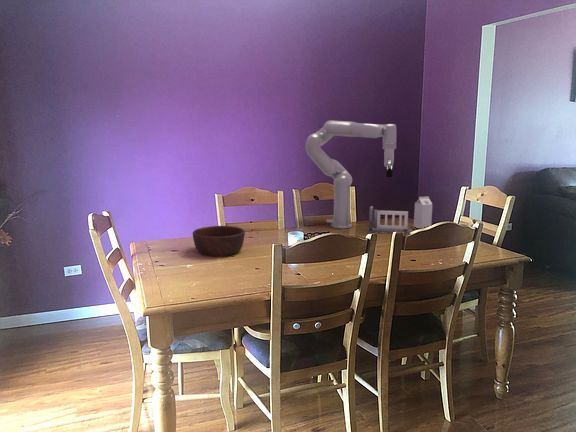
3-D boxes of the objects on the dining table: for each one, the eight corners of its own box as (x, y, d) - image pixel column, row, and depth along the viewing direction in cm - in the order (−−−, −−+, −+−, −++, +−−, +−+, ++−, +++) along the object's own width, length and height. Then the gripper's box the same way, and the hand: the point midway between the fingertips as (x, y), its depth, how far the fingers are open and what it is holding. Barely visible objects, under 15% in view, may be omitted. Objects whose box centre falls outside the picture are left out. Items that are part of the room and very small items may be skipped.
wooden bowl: (236, 260, 231) (235, 238, 229) (185, 257, 236) (184, 235, 234) (251, 246, 255) (250, 226, 253) (204, 244, 260) (203, 224, 258)
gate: (373, 227, 288) (373, 210, 286) (373, 227, 290) (374, 209, 288) (407, 229, 284) (408, 211, 282) (407, 228, 286) (408, 210, 284)
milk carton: (413, 228, 297) (415, 196, 293) (423, 226, 300) (424, 195, 296) (421, 230, 291) (423, 198, 287) (431, 229, 294) (433, 197, 290)
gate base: (367, 232, 285) (368, 207, 283) (368, 229, 294) (369, 205, 291) (412, 234, 281) (414, 209, 278) (412, 231, 289) (413, 206, 286)
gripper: (382, 145, 294) (382, 174, 297) (382, 147, 277) (382, 178, 281) (395, 145, 293) (395, 174, 296) (396, 146, 276) (396, 178, 279)
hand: (389, 176), depth 288 cm, fingers open, 9 cm apart
